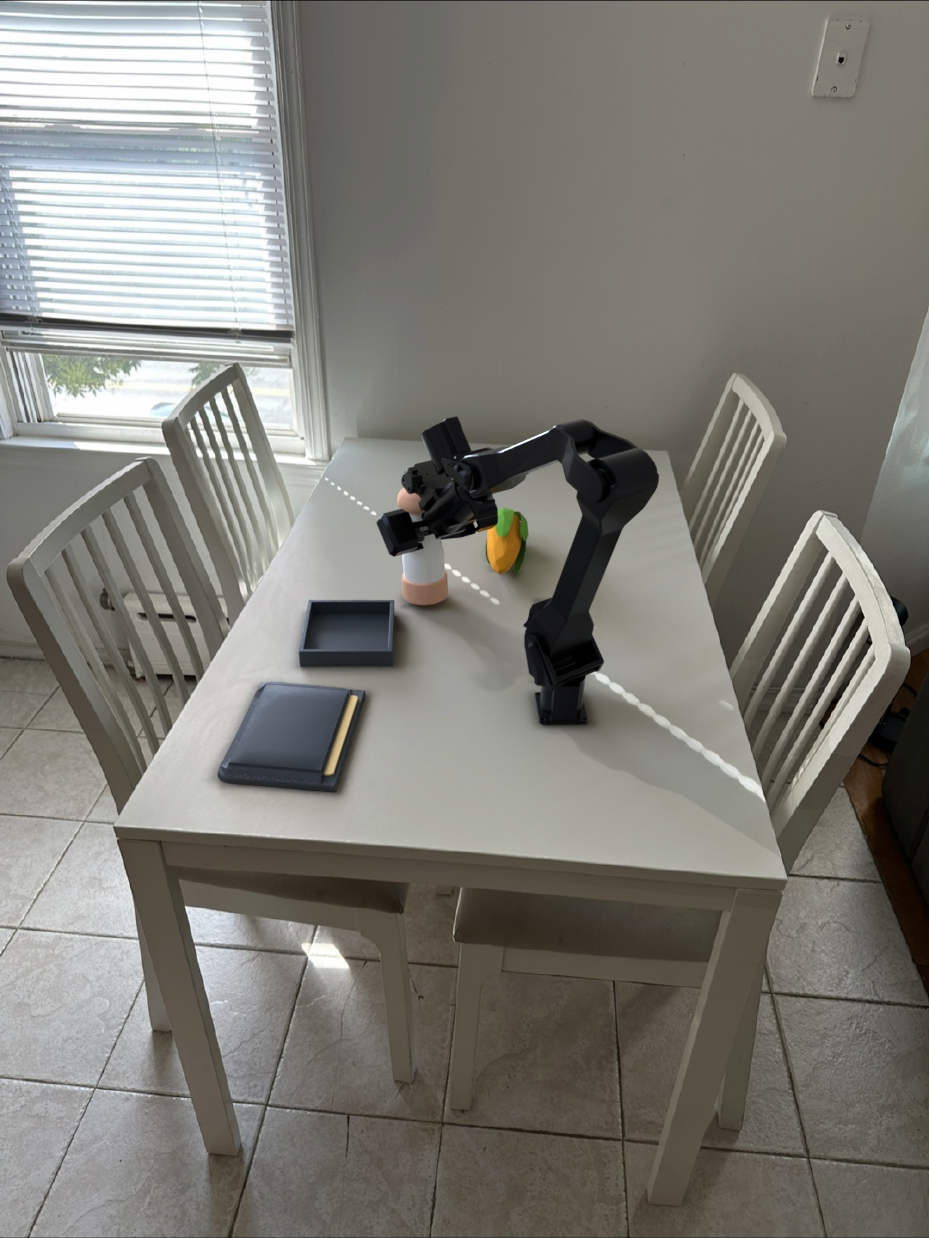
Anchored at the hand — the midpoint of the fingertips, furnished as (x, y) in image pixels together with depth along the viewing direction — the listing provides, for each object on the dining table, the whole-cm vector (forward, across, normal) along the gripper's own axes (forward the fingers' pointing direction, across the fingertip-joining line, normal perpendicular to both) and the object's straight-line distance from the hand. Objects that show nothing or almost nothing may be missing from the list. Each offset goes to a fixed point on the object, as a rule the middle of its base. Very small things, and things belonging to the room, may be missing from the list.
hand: (418, 541), depth 145 cm
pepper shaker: (+5, 0, +8) cm, 9 cm away
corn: (+8, -19, +6) cm, 21 cm away
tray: (+3, +16, +11) cm, 19 cm away
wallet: (-8, +32, +22) cm, 40 cm away
